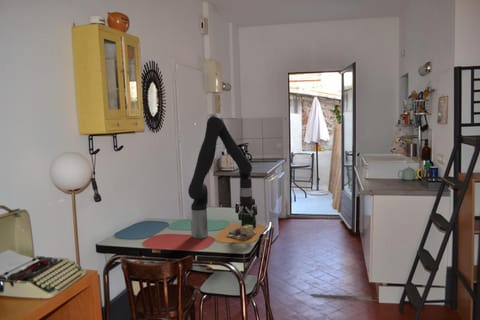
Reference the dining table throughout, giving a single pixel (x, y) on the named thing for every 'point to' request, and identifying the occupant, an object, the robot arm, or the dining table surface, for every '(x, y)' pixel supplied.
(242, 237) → the hinge board
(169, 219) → the dining table surface
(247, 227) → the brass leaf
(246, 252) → the dining table surface
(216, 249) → the dining table surface
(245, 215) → the coffee jar
